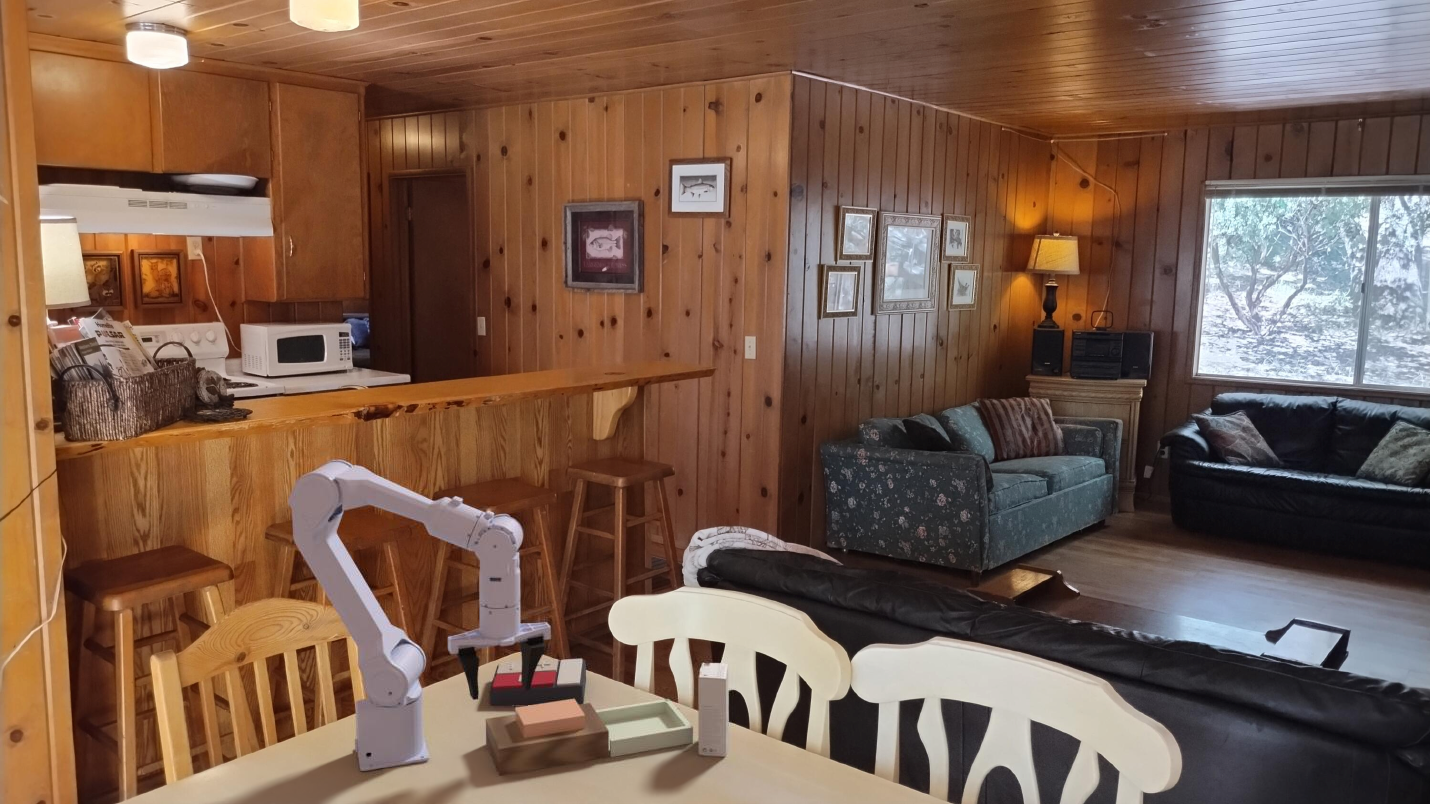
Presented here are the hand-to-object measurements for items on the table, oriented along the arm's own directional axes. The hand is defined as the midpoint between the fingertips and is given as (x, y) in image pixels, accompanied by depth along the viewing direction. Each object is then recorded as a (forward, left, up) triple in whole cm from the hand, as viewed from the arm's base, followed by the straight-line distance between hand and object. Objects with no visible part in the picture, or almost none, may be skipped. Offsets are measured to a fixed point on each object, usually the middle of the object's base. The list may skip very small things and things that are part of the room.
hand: (500, 692), depth 152 cm
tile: (+7, -1, -6) cm, 9 cm away
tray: (+21, -1, -10) cm, 23 cm away
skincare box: (+30, -8, -10) cm, 33 cm away
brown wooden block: (+7, -1, -10) cm, 12 cm away
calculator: (+10, +20, -11) cm, 25 cm away
